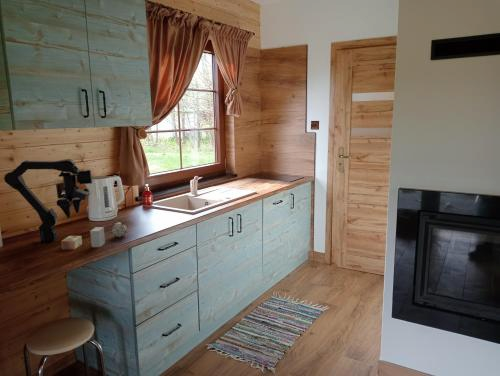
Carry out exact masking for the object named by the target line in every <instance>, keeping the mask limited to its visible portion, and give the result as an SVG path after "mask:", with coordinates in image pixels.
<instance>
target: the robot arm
mask: <svg viewBox="0 0 500 376" xmlns="http://www.w3.org/2000/svg"><path fill="white" fill-rule="evenodd" d="M27 170H55V171H58V172H60V173H59V175H58V176H57V177H59V178H60V177H62V181H63V187H62V191H64V195H63V197H61V198H59V199H57V200H56V206H58V207H59V208H60V209H61V211H63V213H64V214H65V216H66V217H67V219H71V208H72V206H73V208H74V211H75V213H76V214H78V213H80V209H81V204H82V202H83V201H86V200H87V199H89V196H90V195H91V193H90V190H89V188H88V187H85V188H82V189H80V187H79V185H88V184H93V175H92V172H91V171H92V170H90V169H85V170H80V169H79V168H78V167H77V165H76V162H75V161H74V160H73V159H71V158H67V159H65V158H64V159H60V160H55V161H54V160H51V161H49V160H47V161H46V160H24V161H22V162H20V164H19V165H18V166H17V167H16V168H15V169H13V170H11V171H9V172H7V173H6V174H5V175H4V179H3V181H4V182H5V183H6V184H7V185H8V186H9V187H11V188H13V189H14V190H16V191H17V192H18V193H19V194H20V195H21V196H22V197H23V198H24V199H25V200H26V202H28V204H29V205H30V206H31V207H32V208H33V209H34V211H36V213H37V215H38V216H39V219H40V221H41V224H40V225H39V226H38V231H39V237H40V240H39V241H38V243H53V242H54V241H57V240H58V237H57V230H56V228H55V227H54V226H55V225H56V223H57V222H58V220H59V216H58V213H57V212H56V211H54V210H55V209H54V208H52V207H50V209H49V208H48V207H46V206H45V204H43V203H42V201H40V199H39V198H38V197H37V196H36V195H35V193H34V192H33V191H32V189H30V187H28V185H27V184H26V182H25V178H23V175H24V174H25V173H26V172H27ZM78 184H79V185H78Z"/></svg>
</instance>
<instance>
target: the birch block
mask: <svg viewBox="0 0 500 376" xmlns="http://www.w3.org/2000/svg"><path fill="white" fill-rule="evenodd" d="M60 244H61V250H75V249H77V248H79V247H80V246H81V245H82V244H83V237H82V235H69V236H67V237H65V238H64V239H62V240H61V243H60Z"/></svg>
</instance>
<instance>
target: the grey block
mask: <svg viewBox="0 0 500 376" xmlns="http://www.w3.org/2000/svg"><path fill="white" fill-rule="evenodd" d="M89 233H90V240H91V242H90V243H91V248H101V247H102V246H103V245H104V244H106V238H105V237H106V236H105V227H104V226H103V227H102V226H100V227H98V226H97V227H96V226H95V227H94V228H93V229H91V230H90V232H89ZM100 246H101V247H100Z"/></svg>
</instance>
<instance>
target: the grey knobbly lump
mask: <svg viewBox="0 0 500 376" xmlns="http://www.w3.org/2000/svg"><path fill="white" fill-rule="evenodd" d="M128 227H129V226H128V225H126V224H124V222H121V220H118V222H115V223H114V222H113V223H112V226H111V231H110V234H113V235H114V237H117V238H118V240H119V239H120V238H121V237H123V236H124V237H125V236H126V234H127V233H128V231H127V229H128Z"/></svg>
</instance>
